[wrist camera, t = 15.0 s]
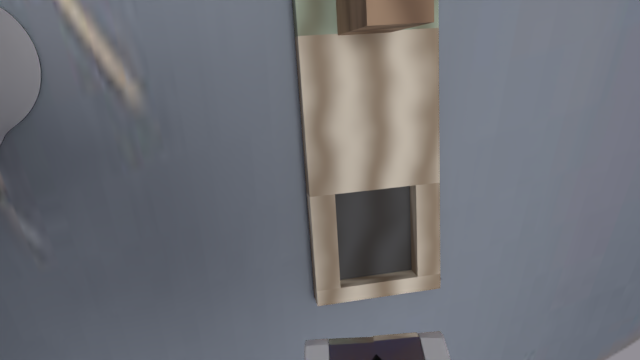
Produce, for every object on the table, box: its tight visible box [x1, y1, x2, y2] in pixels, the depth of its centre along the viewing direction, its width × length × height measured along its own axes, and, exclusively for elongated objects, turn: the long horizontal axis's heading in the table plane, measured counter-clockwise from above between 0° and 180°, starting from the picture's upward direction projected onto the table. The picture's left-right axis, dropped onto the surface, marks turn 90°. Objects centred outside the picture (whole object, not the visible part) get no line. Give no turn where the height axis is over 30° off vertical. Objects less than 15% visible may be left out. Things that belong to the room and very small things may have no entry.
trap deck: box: [292, 0, 440, 306], centre depth 54 cm, size 16×62×2 cm, turn 4°
